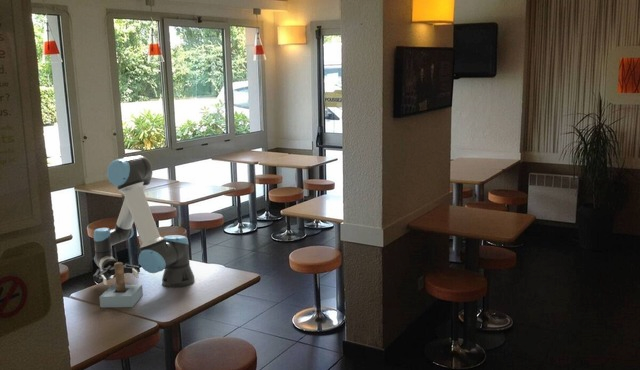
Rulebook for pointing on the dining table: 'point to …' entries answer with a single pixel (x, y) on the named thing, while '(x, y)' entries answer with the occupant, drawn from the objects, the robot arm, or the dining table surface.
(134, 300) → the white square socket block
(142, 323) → the dining table surface
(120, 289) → the walnut peg
